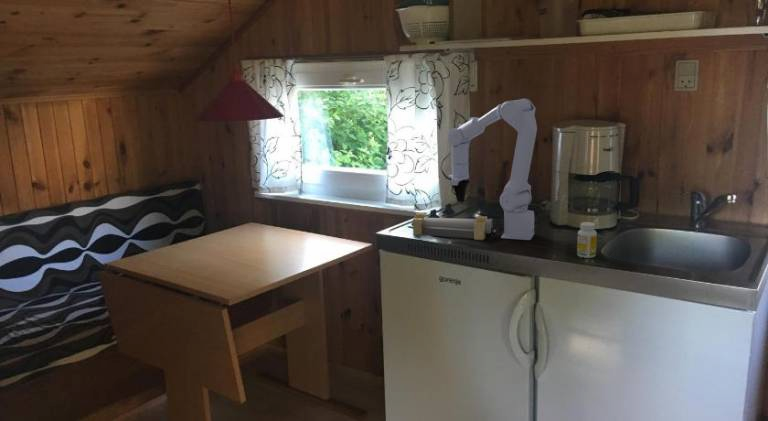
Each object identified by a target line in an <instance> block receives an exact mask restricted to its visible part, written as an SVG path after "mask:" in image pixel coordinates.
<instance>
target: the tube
mask: <svg viewBox="0 0 768 421" xmlns="http://www.w3.org/2000/svg"><path fill="white" fill-rule="evenodd" d="M475 222H476V218H451V217H450V218H447V217H446V218H445V217H424V226H429V227H444V228H459V229H474V223H475ZM493 227H494V226H493V218H487V220H486V221H485V233H491V228H493ZM493 229H494V228H493Z"/></svg>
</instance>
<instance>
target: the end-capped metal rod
mask: <svg viewBox="0 0 768 421" xmlns="http://www.w3.org/2000/svg"><path fill="white" fill-rule="evenodd" d="M427 215H428V214H427V212H420V211H419V212H416V213H415V217H414V218H413V219H412V230H413V232H412V234H413V236H421V237H422V236H424V235H423V227H424V218H427ZM475 219H476V222H475V223H474V239H473V240H476V241H484V240H485V239H486V234H485V221H486V220H487V219H488V216H486V215H485V216H483V215H478V216H477V217H475Z"/></svg>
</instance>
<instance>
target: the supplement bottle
mask: <svg viewBox="0 0 768 421" xmlns="http://www.w3.org/2000/svg"><path fill="white" fill-rule="evenodd" d="M595 229H596V223H594V222H589V221H585V222H581V223H580V229H579V230H578V231H577V243H576V244H577V245H576V255H577V257H579V258H583V257H584V258H585V259H589V258H595V256H596V255H597V240H598V233H597V231H596V230H595Z"/></svg>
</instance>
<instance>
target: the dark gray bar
mask: <svg viewBox="0 0 768 421" xmlns="http://www.w3.org/2000/svg"><path fill="white" fill-rule="evenodd" d="M422 236H433V237H446V238H448V237H449V238H457V239H459V238H462V239H473V240H474V229H459V228H444V227H429V226H424V227H423V235H422Z"/></svg>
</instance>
